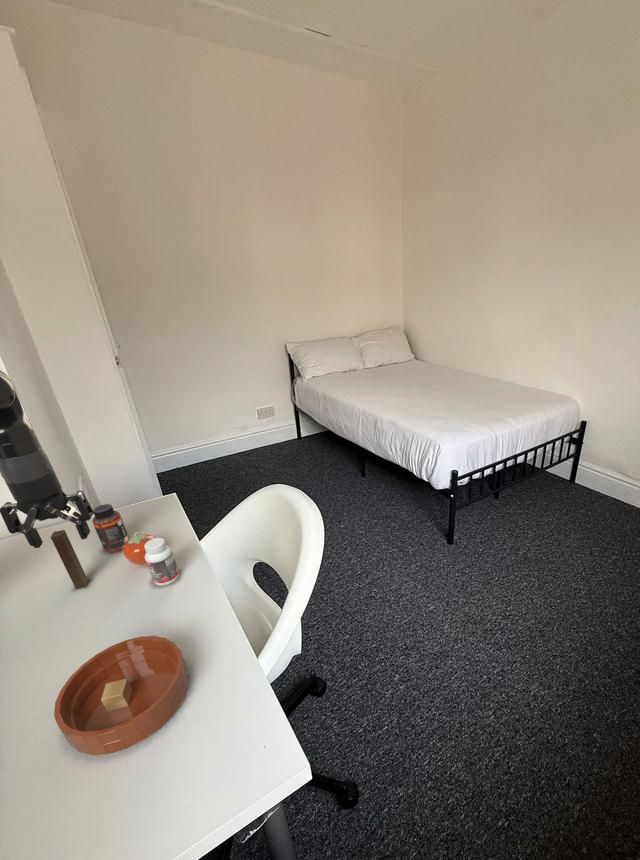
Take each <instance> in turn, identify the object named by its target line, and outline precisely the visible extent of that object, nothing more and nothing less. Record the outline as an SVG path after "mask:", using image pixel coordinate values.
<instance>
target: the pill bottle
mask: <svg viewBox="0 0 640 860" xmlns="http://www.w3.org/2000/svg"><path fill="white" fill-rule="evenodd" d="M144 547H145V551H146V554H145V561H146V563H147V564H146V565H147V568H148V571H149V573H150V576H151V579H152V581H153V583H154V584H155V585H156V586H168V585H170V584H172V583H173V582H175V581H176V580H177V579H178V578H179V577H180V571H179V568H178V565H177V561H176V559H175V556H174V553H173V549H172V548H171V546H169V545H167V543H166V541H165V539H164V538H162V537H155V539H152V540H149V541H148V542H146V544H145V545H144Z"/></svg>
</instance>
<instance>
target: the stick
mask: <svg viewBox="0 0 640 860" xmlns="http://www.w3.org/2000/svg"><path fill="white" fill-rule="evenodd" d="M50 540H51V541H52V543H53V546H54V548H55V550H56V551H57V554H58V556H59V558H60V559H61V562H62V564H63V567H64V568H65V570H66V572H67V575H68V577H69V579H70V581H71V582H72V584H73V586H74V589H75V590H77V589H83V588H86V587H87V586H88V584H89V580H88V577H87V575H86V573H85V571H84V569H83V566H82V564H81V562H80V560H79V557H78V556H77V554H76V551H75V549H74V547H73V544H72V542H71V541H70V538H69V536H68V534H67V532H66V530H65V529H60V530H56V531H55V530H54V531H53V532H52V534H51V535H50Z"/></svg>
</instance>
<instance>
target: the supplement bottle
mask: <svg viewBox="0 0 640 860" xmlns="http://www.w3.org/2000/svg"><path fill="white" fill-rule="evenodd" d="M92 510H93V512H94V513H93V518H92V521H91V522H92V525H93V527H94V530H95V533H96V535H97V537H98V540H99V542H100V544H101V546H102V548H103V550H104V551H105V552H108V553H113V552H114V553H115V552H118V551H122V550H123V545H124V544H125V543H126V541H127V540H129V539H130V536H129V533H128V531H127V529H126V526H125V523H124V521H123V518H122V515H121V514H120V512H119V511H117V510H115V509H114V507H113V505H112V504H110V503H104V504H100V505H98V506H96V507H94V509H92Z"/></svg>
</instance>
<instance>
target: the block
mask: <svg viewBox="0 0 640 860" xmlns="http://www.w3.org/2000/svg"><path fill="white" fill-rule="evenodd" d="M131 694H132V688H131V686H130V684H129V682H128V680H127V678H126V679H122V680H118V681H115V682H111V683H107V684H106V686H105V689H104V692H103V695H102V698H101V701H102V703H103V705H104V707H105V709H106V710H107V712H110V711H113V710H117V709H121V708H124V707H128V706H129V702H130V698H131Z"/></svg>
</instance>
